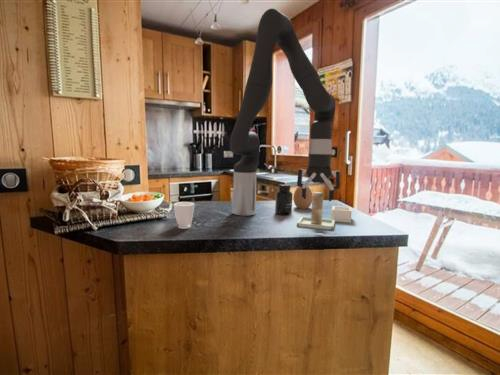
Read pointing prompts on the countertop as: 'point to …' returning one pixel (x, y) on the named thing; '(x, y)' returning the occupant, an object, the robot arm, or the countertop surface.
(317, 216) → the dowel
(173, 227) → the countertop surface
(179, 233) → the countertop surface
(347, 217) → the holder cup
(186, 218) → the cup
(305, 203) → the egg
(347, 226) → the countertop surface
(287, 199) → the supplement bottle
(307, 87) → the robot arm
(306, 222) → the tray
